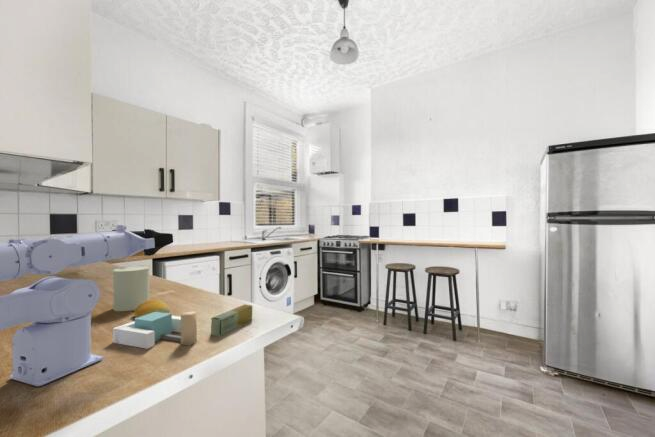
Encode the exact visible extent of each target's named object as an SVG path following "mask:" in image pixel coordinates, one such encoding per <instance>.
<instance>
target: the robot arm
mask: <svg viewBox="0 0 655 437" xmlns="http://www.w3.org/2000/svg"><path fill="white" fill-rule="evenodd" d="M143 232H144V233H141V232H131V231H129V230H128V229H127V226H126V225H125V224H117V225H116V229H112V230H111V231H101V232H90V233H82V234H74V235H73V234H72V235H67V236H58V237H55V238H54V237H52V238H51V237H48V238H18V237H17V238H16V237H15V238H10V239H9V240H8V242H0V282H5V281H10V280H14V279H18V278H20V277H23V276H24V275H27V274H34V275H35V274H36V275H51V276H47V277H44V278H41V279H39V280H38V281H36V282H34V283H33V284H30V285H29V286H26V287H22V288H17V289H16V290H14V291H12V292H11V293H9V294H4V295H0V331H3V330H6V329H7V330H8V329H10V328H13V327H17V326H19V325H22V324H26V323H27V324H28V323H30V324H29V325H27V326H24V327H23V326H22V327H21V328H19V329H17V330H16V331H15V332H14V334H13V337H12V344H11V345H12V352H11V353H12V355H11V356H12V359H11V360H12V371H11V372H12V374H10V375H9V378H10V379H11V380H14V381H18V382H22V383H25V384H28V385H32V386H35V387H41V386H44V385H46V384H48V383H51V382H53V381H55V380H57V379H60V378H62V377H65V376H67V375H69V374H71V373H74V372H76V371H78V370H80V369H83V368H85V367H87V366H91V365H92V364H95V363H97V362H100V361H102V360H103V358H104V357H103V356H102V355H98V354H93V353H92V337H91V336H92V314H93V309H94V308H95V307H96V306H97V305H98V303H99V301H100V297H101V290H100V287H99V286H98V284H97V283H96V282H95V281H92V280H91V279H86V278H84V279H83V278H79V279H77V278H65V277H64V278H63V277H60V276H54V275H56V274H58V273H61V271H64V270H65V269H66V268H70V267H73V268H75V267H80V266H85V265H92V264H95V263H100V262H101V263H102V262H107V261H112V260H116V259H126V258H130V257H132V256H134V255H135V254H137V253H139V252H142V251H143V256H144V257H145V256H147V257H149V256H150V257H151V256H153V255H156V254H157V252H158V251H159V250H161V249H163V248H165V247H166V246H168V245H171V244H173V243H174V235H173V233H168V232H158V231H155V230H154V229H150V228H148V229H147V228H146V229H145V228H144V229H143ZM52 275H53V276H52Z"/></svg>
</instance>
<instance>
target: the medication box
mask: <svg viewBox="0 0 655 437" xmlns="http://www.w3.org/2000/svg"><path fill="white" fill-rule="evenodd" d="M210 319H211V324H210V325H211V326H210V336H215V337H220V336H222V335H224V334H226V333H229V332H230V331H232V330H234V329H236V328H237V327H240V326H242V325H244V324H246V323H247V322H249V321H252V320H253V305H252V304H251V305H250V304H242V305H239V306H237V307H235V308H233V309H232V308H231V309H230V310H228V311H226V312H223V313H221V314H217V315H215V316H213V317H211V318H210Z"/></svg>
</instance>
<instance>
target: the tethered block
mask: <svg viewBox="0 0 655 437" xmlns="http://www.w3.org/2000/svg"><path fill="white" fill-rule="evenodd" d="M172 316H173V315H172V313H170V312H169V313H161V312H153V313H150V314H147V315H144V316H141V317H138V318H136V317H135V318H134V321H135V328H139V329H145V330H151V331H155V342H156V341H158V340H160V339H161V340H167V341H173V342H178V343H179V342H180V344H181V345H182V346H190V345H193V344H195V343H197V342H198V339H197V338H198V337H197V335H198V334H197V333H198V331H197V328H198V326H197V324H198V323H197V311H193V310H192V311H185V312H181V313H180V317H181V333H180V335H176V334H172Z"/></svg>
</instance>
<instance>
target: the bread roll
mask: <svg viewBox="0 0 655 437" xmlns="http://www.w3.org/2000/svg"><path fill="white" fill-rule="evenodd" d="M170 308H171V307H170V306H169V305H167V303H165V302H164V301H162V300H159V299H149V300H148V301H145V302H143V303H141V304H140V305H139V306H138V307H136V309H135V310H133V314H134V317H135V318H138V317H141V316H144V315H147V314H150V313H153V312H161V313H169V314H170V311H171V309H170Z"/></svg>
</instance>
